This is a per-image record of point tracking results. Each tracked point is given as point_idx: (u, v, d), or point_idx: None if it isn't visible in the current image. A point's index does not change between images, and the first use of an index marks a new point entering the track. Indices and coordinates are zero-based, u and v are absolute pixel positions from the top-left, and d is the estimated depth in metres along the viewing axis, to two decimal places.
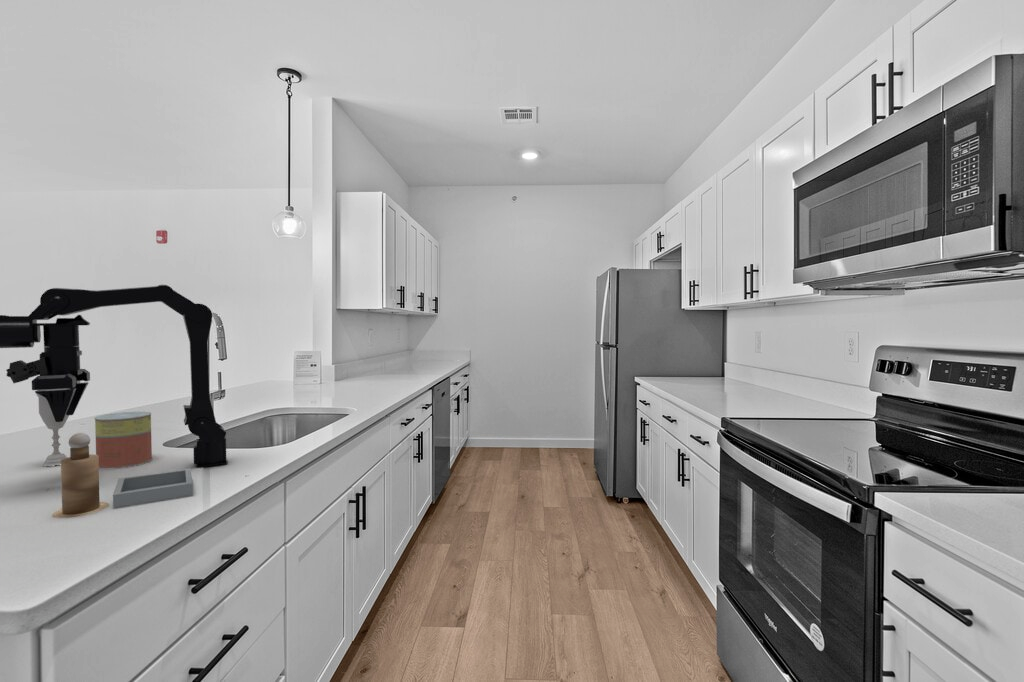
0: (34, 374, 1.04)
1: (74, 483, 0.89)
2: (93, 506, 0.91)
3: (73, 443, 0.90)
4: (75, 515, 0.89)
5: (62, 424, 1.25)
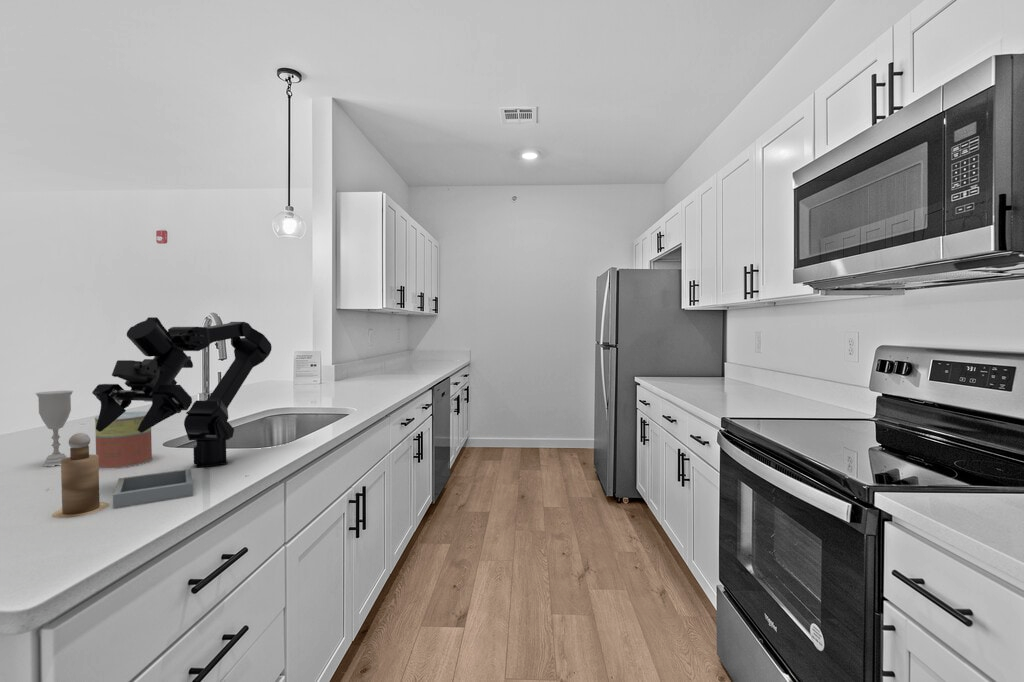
0: (146, 378, 1.03)
1: (74, 483, 0.89)
2: (93, 506, 0.91)
3: (73, 443, 0.90)
4: (75, 515, 0.89)
5: (62, 424, 1.25)
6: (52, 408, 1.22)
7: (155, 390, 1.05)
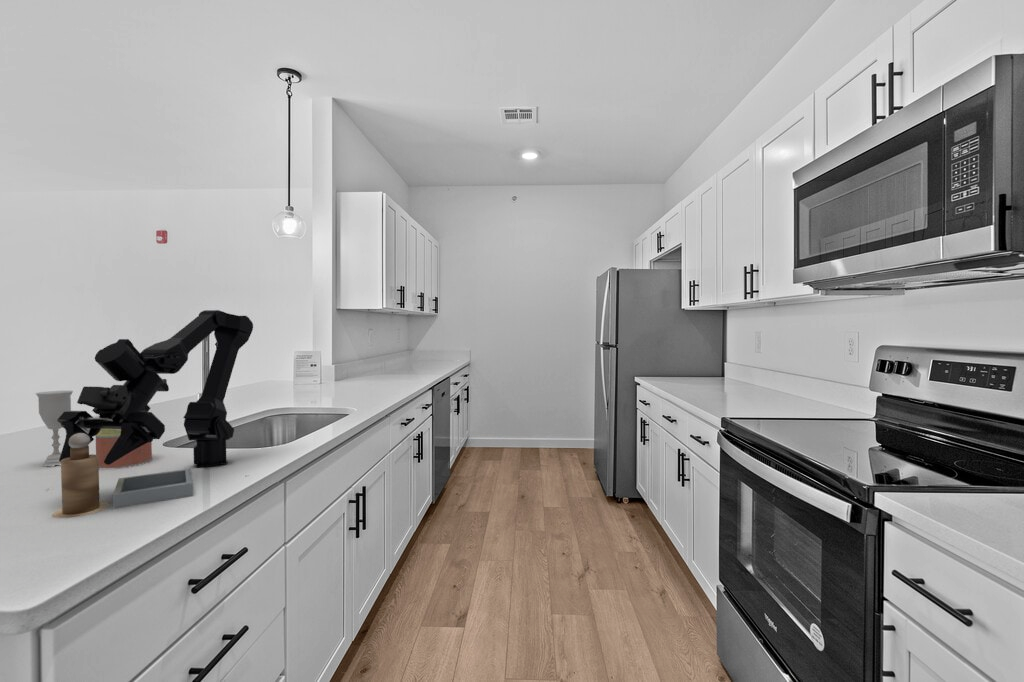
0: (115, 406, 0.96)
1: (74, 483, 0.89)
2: (93, 506, 0.91)
3: (73, 443, 0.90)
4: (75, 515, 0.89)
5: None
6: (52, 408, 1.22)
7: (125, 418, 0.98)
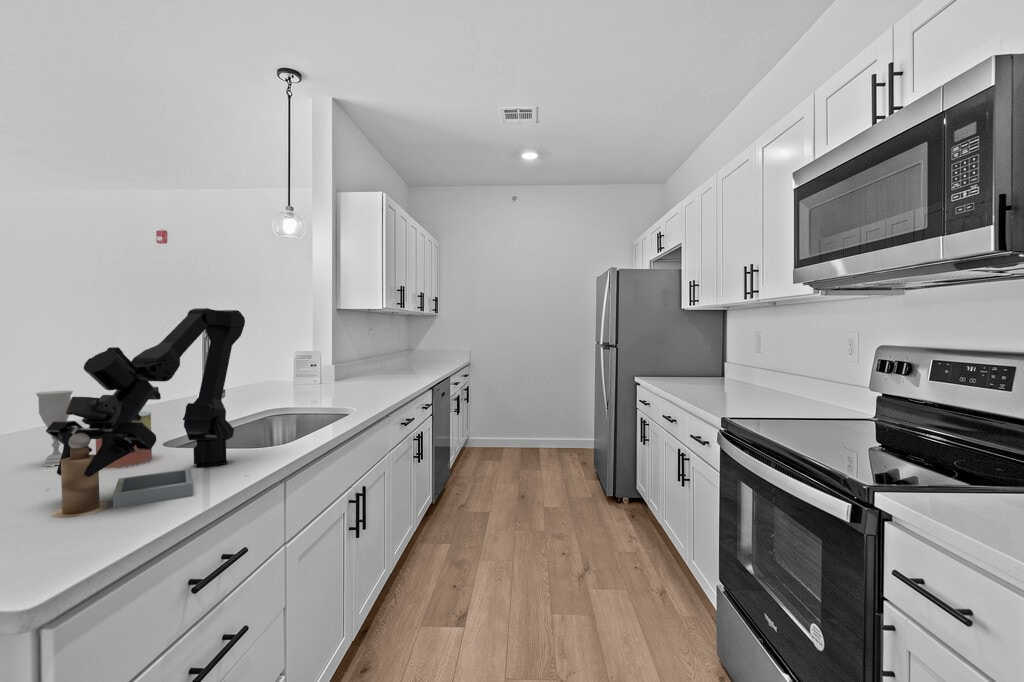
0: (105, 416, 0.94)
1: (74, 483, 0.89)
2: (93, 506, 0.91)
3: (73, 443, 0.90)
4: (75, 515, 0.89)
5: None
6: (52, 408, 1.22)
7: (115, 428, 0.96)
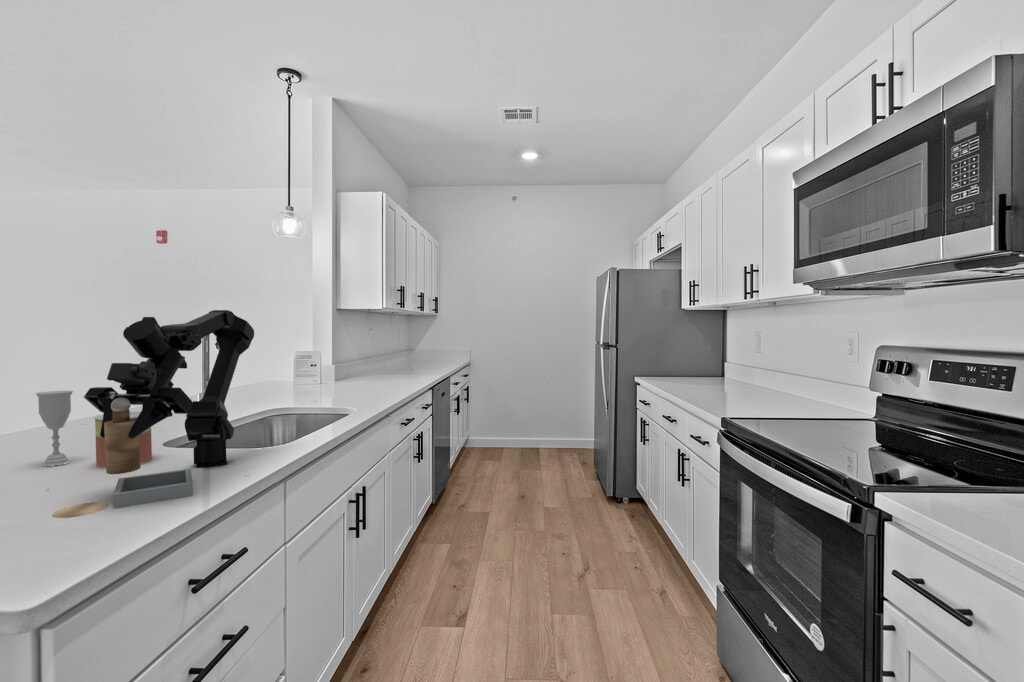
0: (143, 381, 0.98)
1: (118, 444, 0.94)
2: (136, 466, 0.96)
3: (116, 407, 0.94)
4: (75, 515, 0.89)
5: (62, 424, 1.25)
6: (52, 408, 1.22)
7: (153, 393, 1.00)
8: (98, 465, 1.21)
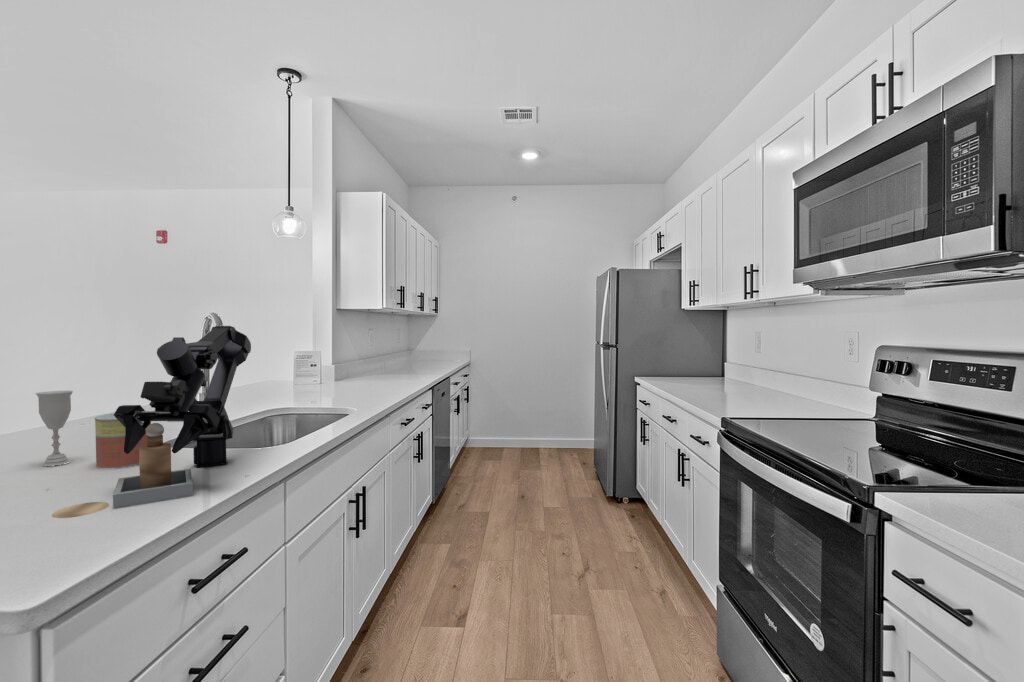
0: (174, 399, 1.03)
1: (154, 468, 0.99)
2: None
3: (151, 432, 0.99)
4: (75, 515, 0.89)
5: (62, 424, 1.25)
6: (52, 408, 1.22)
7: (181, 410, 1.05)
8: (98, 465, 1.21)
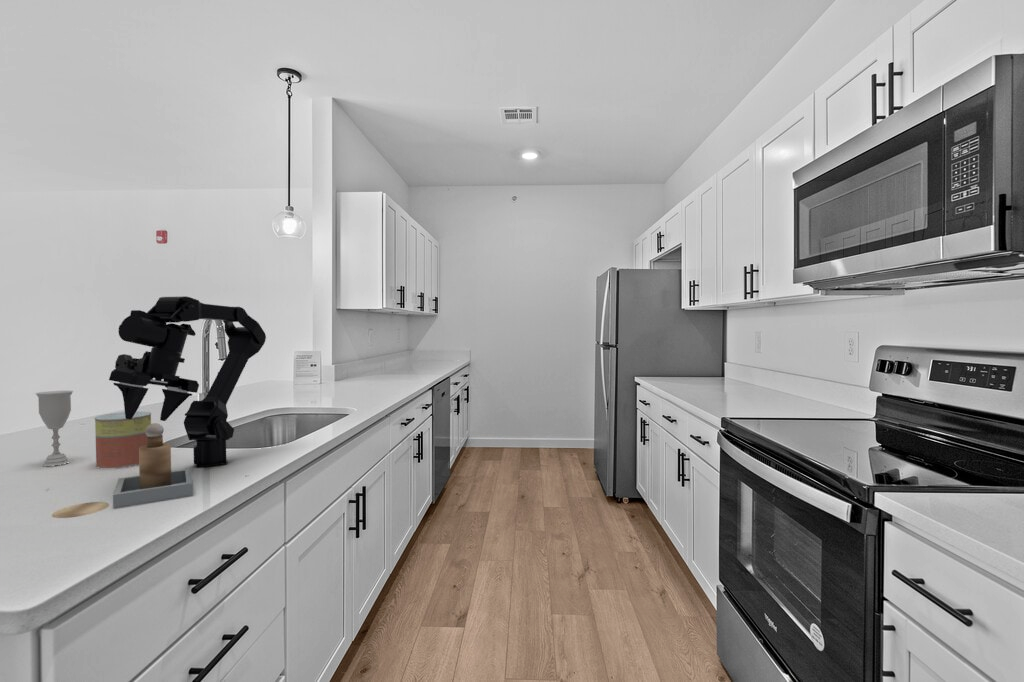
0: (134, 370, 1.09)
1: (154, 468, 0.99)
2: None
3: (151, 432, 0.99)
4: (75, 515, 0.89)
5: (62, 424, 1.25)
6: (52, 408, 1.22)
7: None
8: (98, 465, 1.21)
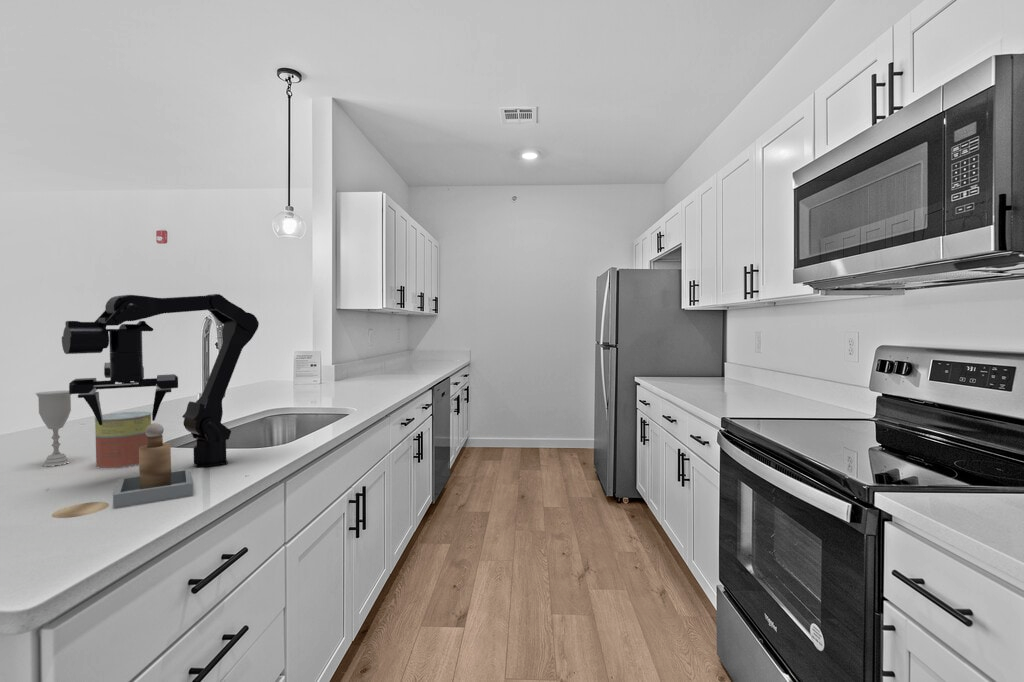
0: None
1: (154, 468, 0.99)
2: None
3: (151, 432, 0.99)
4: (75, 515, 0.89)
5: (62, 424, 1.25)
6: (52, 408, 1.22)
7: None
8: (98, 465, 1.21)
